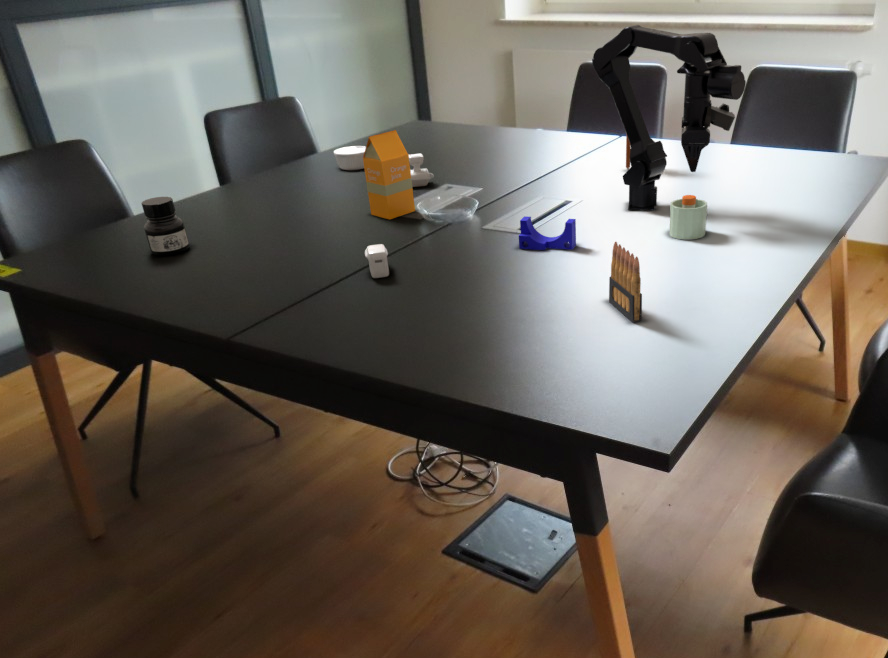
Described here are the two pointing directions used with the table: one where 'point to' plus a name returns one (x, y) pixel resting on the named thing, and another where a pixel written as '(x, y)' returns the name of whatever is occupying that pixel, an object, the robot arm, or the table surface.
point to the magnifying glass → (627, 153)
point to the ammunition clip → (625, 284)
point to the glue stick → (688, 201)
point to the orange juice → (388, 176)
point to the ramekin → (350, 157)
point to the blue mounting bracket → (539, 242)
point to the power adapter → (377, 260)
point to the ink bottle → (164, 227)
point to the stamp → (419, 171)
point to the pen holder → (688, 220)
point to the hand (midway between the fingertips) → (693, 166)
